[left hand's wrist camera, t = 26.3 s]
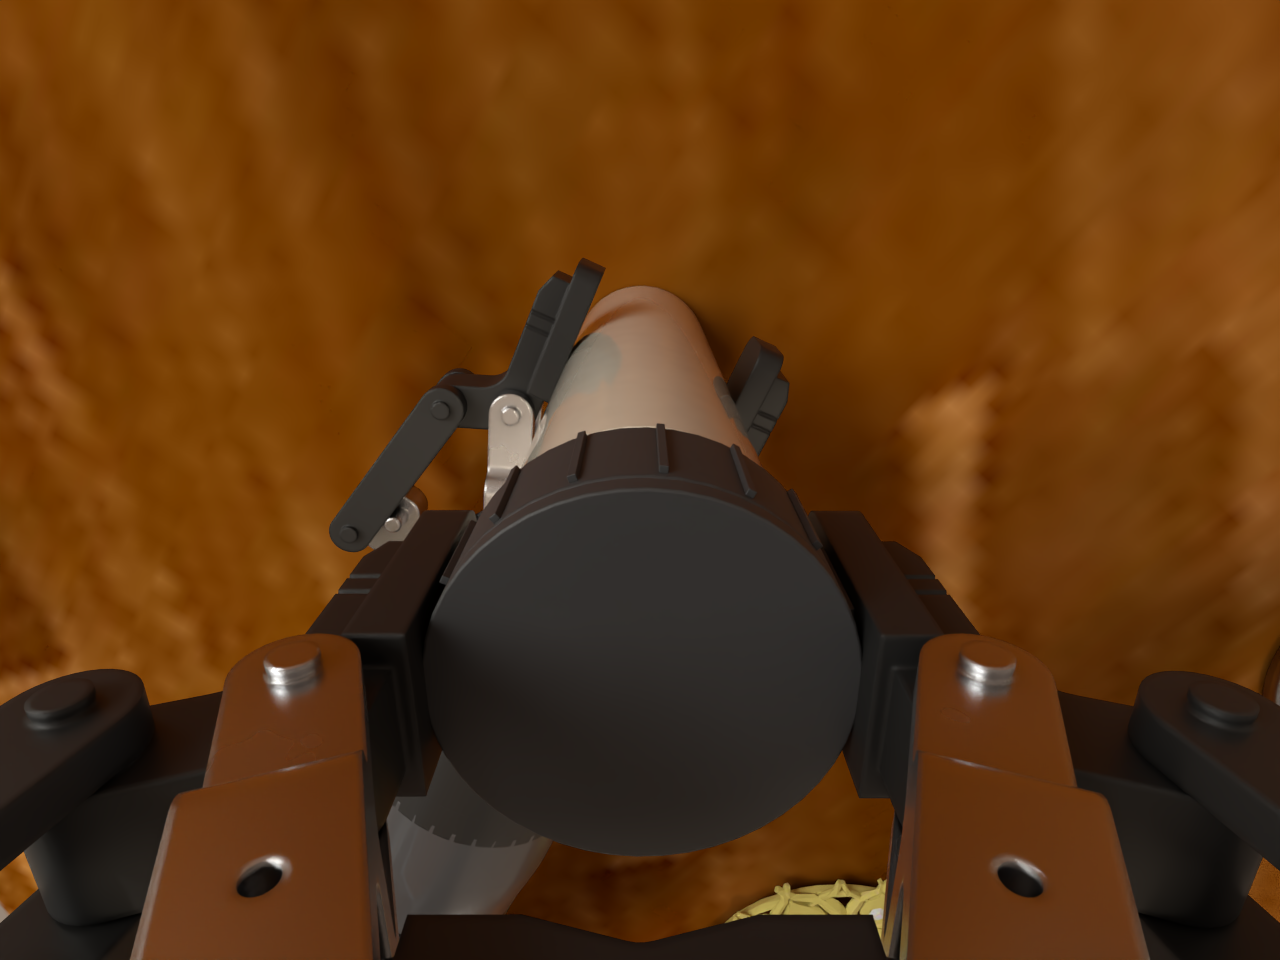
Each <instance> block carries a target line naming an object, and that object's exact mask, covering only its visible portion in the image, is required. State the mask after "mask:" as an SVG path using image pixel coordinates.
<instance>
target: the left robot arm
mask: <svg viewBox="0 0 1280 960" xmlns="http://www.w3.org/2000/svg"><path fill="white" fill-rule="evenodd" d="M808 518H809V520H810V522H811V524H812V526H813V528H814V530H815V531H816V533H817V535H818V537H819V539H820V541H821V543H822V545H823V547H821V549H824V550H825V552H826V554H827V556H828V558H829V560H830V562H831V564H832V565H833V567H834V569H835V571H836V573H837V575H838V577H839V579H840V581H841V583H842V585H843V587H844V589H845V591H846V593H847V595H848V597H849V599H850V601H851V603H852V605H853V607H854V616H853V617H854V620H855V622H856V626H857V630H858V634H859V638H860V642H861V647H862V666H861V676H860V684H859V691H858V699H857V707H856V714H855V721H854V725H853V728H852V730H851V733H850V735H849V737H848V740H847V742H846V744H845V746H844V747H843V749H842V751H843V754H844V757H845V760H846V762H847V765H848V768H849V771H850V773H851V776H852V779H853V782H854V785H855V787H856V790H857V793H858V796H859V798H890V799H891V802H892V804H893V807H894V809H895V811H894V818H893V824H892V830H891V836H890V846H889V857H888V867H887V878H886V889H885V900H884V911H883V922H882V932H881V939H880V936H879V933H878V929H877V926H876V923H875V920H874V917H873V915H754V916H751V917H747V918H743V919H739V920H735V921H731V922H727V923H723V924H719V925H715V926H711V927H707V928H703V929H699V930H695V931H691V932H687V933H683V934H679V935H675V936H671V937H667V938H663V939H659V940H655V941H651V942H645V943H635V942H629V941H625V940H621V939H617V938H613V937H609V936H605V935H601V934H597V933H593V932H589V931H585V930H581V929H577V928H573V927H569V926H565V925H561V924H557V923H553V922H549V921H545V920H541V919H537V918H533V917H529V916H526V915H407V917H406V920H405V923H404V926H403V929H402V933H401V936H400V939H399V932H398V922H397V911H396V900H395V889H394V878H393V867H392V857H391V846H390V836H389V830H388V824H387V817H388V815H389V812H390V810H391V807H392V805H393V802H394V800H395V797H426V795H427V792H428V789H429V787H430V784H431V781H432V778H433V775H434V772H435V769H436V767H437V764H438V761H439V758H440V755H441V752H442V749H441V747H440V745H439V743H438V741H437V739H436V737H435V735H434V732H433V729H432V726H431V722H430V716H429V709H428V701H427V693H426V685H425V677H424V668H423V647H424V640H425V635H426V632H427V629H428V626H429V622H430V619H431V616H432V613H433V611H434V609H435V607H436V605H437V603H438V601H439V599H440V597H441V594H442V592H443V590H444V588H445V586H446V585H444V584H442V583H440V580H441V578H442V575H443V574H444V572H445V570H446V568H447V566H448V564H449V562H450V560H451V558H452V556H453V554H454V552H455V550H456V548H457V546H458V544H459V542H460V540H461V538H462V536H463V534H464V532H465V530H466V528H467V526H468V524H469V523H470V521H471V520H473V521H475V522H477V519H476V515H475V513H474V511H472V510H425V511H424V512H423V513H422V514H421V515H420V517H419V518H418V520H417V521H416V523H415V524H414V526H413V527H412V529H411V530H410V532H409V533H408V535H407V536H406V538H405V539H404V541H388V542H386V543H385V544H383V545H382V546H380V547H378V548H377V549H375V550H373V551H372V552H370V553H369V554H367V555H365V556H364V557H363V558H362V559H361V561H360V562H359V563H358V565H357V566H356V567H355V569H354V570H353V571H352V573H351V574H350V578H347V579H346V581H345V582H344V583H343V585H342V586H341V587H340V589H339V593H338V594H335V595H334V597H333V598H332V599H331V601H330V602H329V603H328V605H327V606H326V607H325V609H324V610H323V611H322V613H321V614H320V615H319V617H318V618H317V619H316V621H315V622H314V623H313V625H312V626H311V627H310V629H309V630H308V631H307V633H306V634H304V635H297V636H293V637H288V638H284V639H281V640H278V641H275V642H272V643H270V644H267V645H265V646H263V647H261V648H259V649H257V650H255V651H253V652H251V653H250V654H248V655H247V656H245V657H244V658H243V659H241V660H240V661H239V662H238V663H237V664H236V665H235V666H234V667H233V668H232V669H231V671H230V672H229V673H228V675H227V678H226V680H225V684H224V689H223V691H221V692H217V693H213V694H208V695H203V696H198V697H193V698H188V699H182V700H177V701H172V702H167V703H162V704H156V705H151V706H150V705H149V702H148V698H147V695H146V691H145V688H144V684H143V682H142V680H141V679H140V678H139V677H138V676H137V675H136V674H134V673H131V672H129V671H125V670H118V669H98V670H90V671H84V672H79V673H74V674H70V675H66V676H63V677H60V678H57V679H54V680H51V681H48V682H45V683H43V684H40V685H38V686H35V687H33V688H31V689H29V690H27V691H25V692H23V693H21V694H19V695H18V696H16V697H14V698H12V699H11V700H9V701H7V702H6V703H4V704H3V705H1V706H0V871H1V870H2V869H3V868H4V867H5V866H7V865H8V864H9V863H10V862H11V861H13V860H14V859H15V858H16V857H18V856H19V855H20V854H21V853H22V852H24V853H25V856H26V858H27V861H28V863H29V866H30V868H31V871H32V873H33V876H34V878H35V881H36V883H37V886H38V888H39V889H38V890H37V891H36V892H35V893H33V894H32V895H31V896H30V897H29V898H28V899H27V900H26V901H24V902H23V903H22V904H21V905H20V906H19V907H18V908H17V909H16V910H14V911H13V912H12V913H11V914H10V915H9V916H8V917H7V918H5V919H4V920H3V921H2V922H1V923H0V960H1280V923H1279V922H1278V921H1277V920H1276V919H1275V918H1273V917H1272V916H1271V915H1270V914H1269V913H1268V912H1267V911H1266V910H1265V909H1263V908H1262V907H1261V906H1260V905H1259V904H1258V903H1257V902H1256V901H1254V900H1253V899H1252V898H1251V897H1250V896H1249V895H1248V893H1249V890H1250V888H1251V885H1252V883H1253V880H1254V878H1255V875H1256V873H1257V870H1258V868H1259V866H1260V863H1261V861H1262V858H1263V857H1264V858H1265V859H1266V860H1267V861H1269V862H1270V863H1271V864H1272V865H1273V866H1275V867H1276V868H1277V869H1278V870H1279V871H1280V706H1279V705H1277V704H1276V703H1274V702H1272V701H1271V700H1269V699H1267V698H1266V697H1264V696H1262V695H1260V694H1258V693H1256V692H1254V691H1252V690H1250V689H1248V688H1245V687H1243V686H1240V685H1238V684H1235V683H1232V682H1229V681H1226V680H1223V679H1220V678H1216V677H1213V676H1209V675H1204V674H1199V673H1193V672H1185V671H1165V672H1159V673H1154V674H1152V675H1149V676H1147V677H1146V678H1145V679H1144V680H1143V681H1142V682H1141V684H1140V686H1139V690H1138V693H1137V697H1136V700H1135V704H1134V706H1129V705H1123V704H1118V703H1113V702H1108V701H1103V700H1097V699H1092V698H1087V697H1082V696H1077V695H1073V694H1068V693H1064V692H1061V691H1057V689H1056V684H1055V680H1054V678H1053V675H1052V673H1051V672H1050V671H1049V669H1048V668H1047V667H1046V666H1045V665H1044V664H1043V663H1042V662H1041V661H1040V660H1039V659H1037V658H1036V657H1035V656H1033V655H1032V654H1030V653H1029V652H1027V651H1025V650H1023V649H1021V648H1019V647H1017V646H1015V645H1013V644H1010V643H1008V642H1005V641H1002V640H999V639H995V638H992V637H987V636H983V635H980V634H979V633H978V632H977V630H976V629H975V628H974V626H973V625H972V624H971V622H970V621H969V620H968V618H967V617H966V616H965V614H964V613H963V612H962V611H961V609H960V608H959V607H958V605H957V604H956V603H955V601H954V600H953V599H952V597H951V596H950V595H947V594H946V590H945V588H944V587H943V586H942V584H941V583H940V582H939V580H938V579H935V575H934V574H933V572H932V571H931V570H930V569H929V567H928V566H927V565H926V563H925V562H924V561H923V559H922V558H921V557H920V556H918V555H916V554H915V553H913V552H911V551H910V550H908V549H907V548H905V547H903V546H902V545H900V544H898V543H897V542H881V541H880V539H879V538H878V536H877V535H876V533H875V532H874V530H873V529H872V527H871V526H870V524H869V523H868V522H867V520H866V519H865V517H864V516H863V514H862V513H861V512H860V511H811V512H810V513H809V516H808Z"/></svg>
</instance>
